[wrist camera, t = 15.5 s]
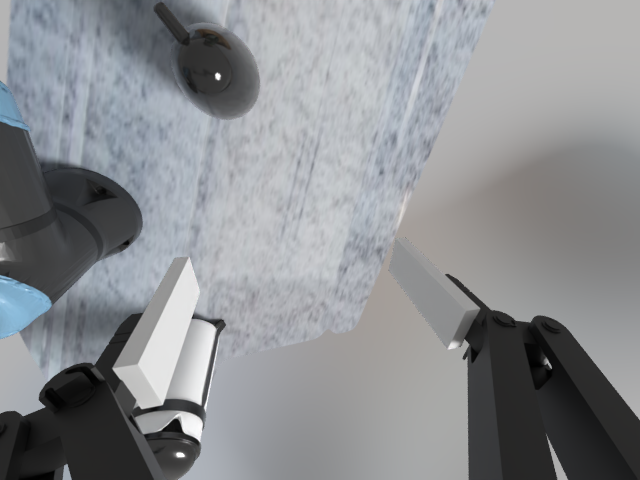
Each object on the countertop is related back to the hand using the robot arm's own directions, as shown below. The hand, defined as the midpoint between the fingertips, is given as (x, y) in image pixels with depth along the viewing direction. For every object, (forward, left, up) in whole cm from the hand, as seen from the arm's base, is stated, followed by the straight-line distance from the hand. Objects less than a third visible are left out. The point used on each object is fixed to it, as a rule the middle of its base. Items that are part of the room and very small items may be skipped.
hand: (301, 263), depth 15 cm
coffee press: (-23, -41, -32) cm, 57 cm away
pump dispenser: (-7, +12, -32) cm, 35 cm away
